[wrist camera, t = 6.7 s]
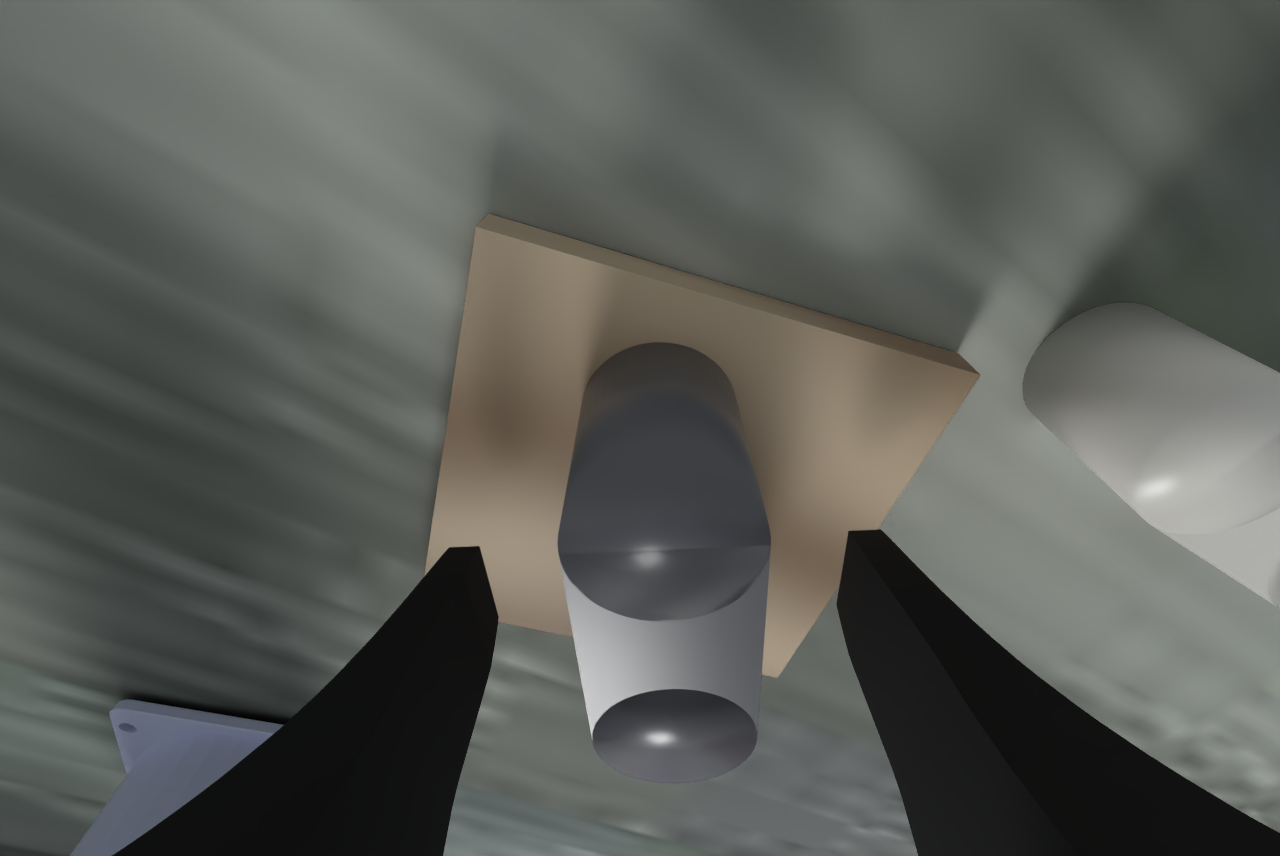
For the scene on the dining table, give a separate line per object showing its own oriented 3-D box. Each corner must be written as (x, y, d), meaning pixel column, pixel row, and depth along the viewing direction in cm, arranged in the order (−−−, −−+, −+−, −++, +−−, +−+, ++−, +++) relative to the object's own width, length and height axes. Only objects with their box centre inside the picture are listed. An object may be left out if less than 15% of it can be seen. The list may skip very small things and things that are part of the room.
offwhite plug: (992, 388, 13) (1096, 489, 10) (1113, 275, 12) (1274, 352, 9) (1227, 545, 16) (1368, 665, 13) (1349, 466, 14) (1540, 579, 11)
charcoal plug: (572, 346, 12) (543, 468, 8) (738, 337, 12) (777, 457, 8) (616, 681, 17) (609, 836, 14) (729, 677, 17) (750, 833, 14)
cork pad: (771, 648, 18) (777, 677, 17) (431, 577, 16) (419, 606, 16) (958, 353, 13) (980, 375, 12) (488, 213, 11) (475, 227, 10)
